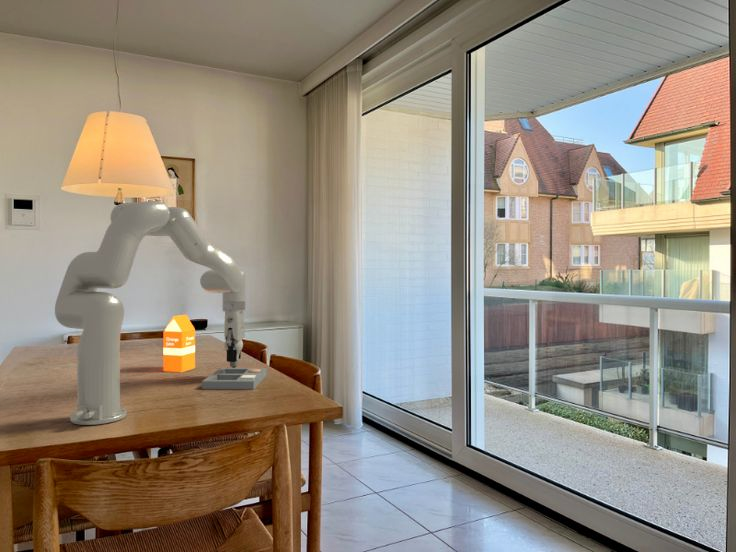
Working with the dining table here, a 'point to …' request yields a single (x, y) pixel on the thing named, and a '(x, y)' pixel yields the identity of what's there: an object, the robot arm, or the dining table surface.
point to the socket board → (235, 378)
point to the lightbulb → (238, 347)
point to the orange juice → (179, 345)
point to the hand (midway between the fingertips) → (233, 359)
